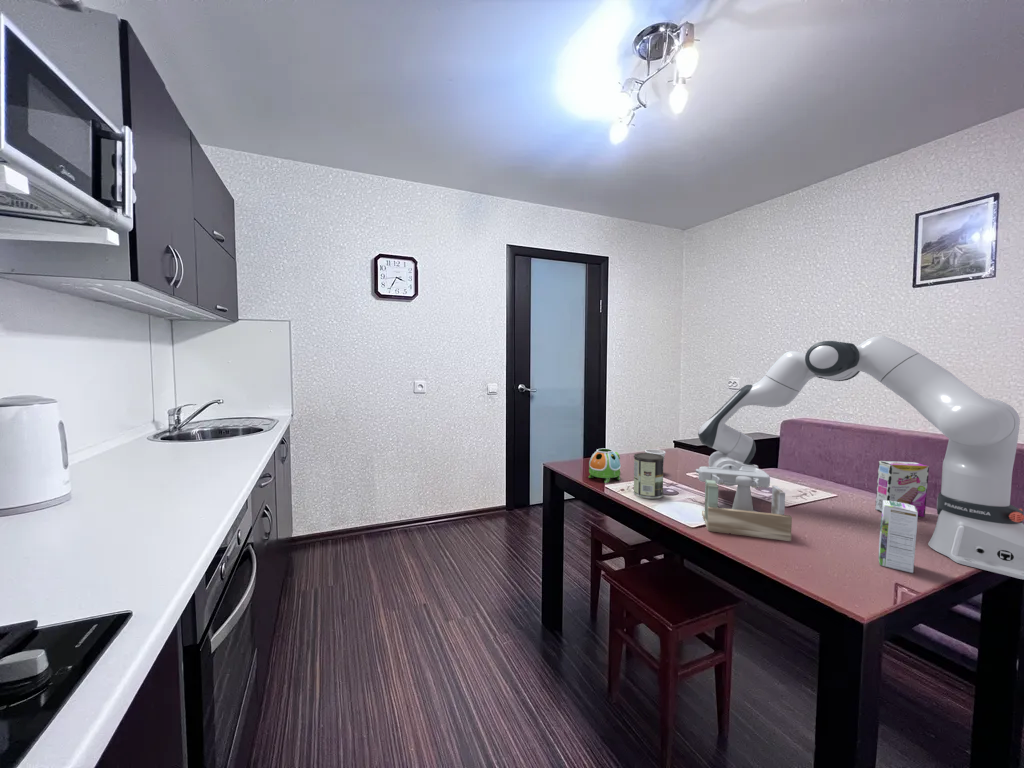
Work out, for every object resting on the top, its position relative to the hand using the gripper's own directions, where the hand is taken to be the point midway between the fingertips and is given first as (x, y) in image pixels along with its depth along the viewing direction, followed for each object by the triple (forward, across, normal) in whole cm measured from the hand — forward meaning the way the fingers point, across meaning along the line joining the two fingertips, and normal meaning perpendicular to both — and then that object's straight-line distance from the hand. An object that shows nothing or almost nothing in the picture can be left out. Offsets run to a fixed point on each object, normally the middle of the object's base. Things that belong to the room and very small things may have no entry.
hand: (737, 483), depth 119 cm
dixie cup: (-43, -22, +11) cm, 50 cm away
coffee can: (-14, -26, +11) cm, 31 cm away
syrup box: (+20, +29, +11) cm, 37 cm away
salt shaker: (+7, 0, +9) cm, 11 cm away
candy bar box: (-21, +50, +11) cm, 56 cm away
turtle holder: (-31, -42, +11) cm, 53 cm away
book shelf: (+7, 0, +11) cm, 13 cm away
